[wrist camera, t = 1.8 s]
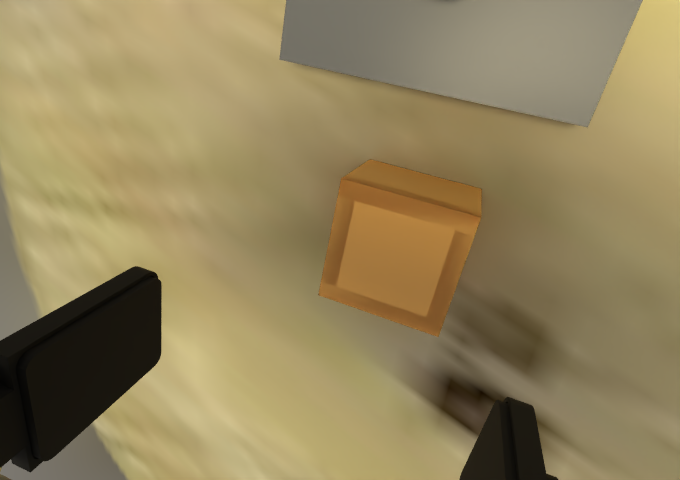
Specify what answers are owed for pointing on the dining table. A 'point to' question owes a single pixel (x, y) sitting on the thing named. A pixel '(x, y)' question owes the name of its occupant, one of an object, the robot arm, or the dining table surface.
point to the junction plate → (470, 48)
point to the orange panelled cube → (399, 243)
